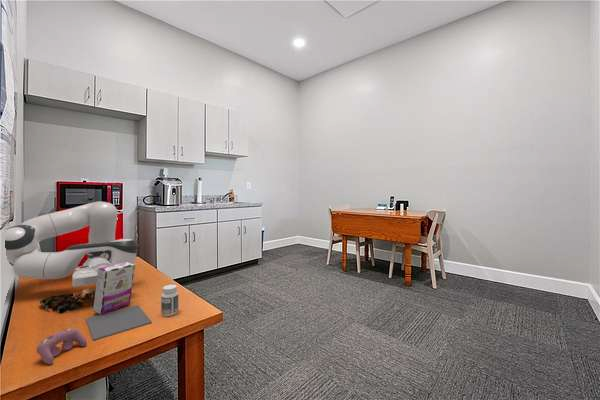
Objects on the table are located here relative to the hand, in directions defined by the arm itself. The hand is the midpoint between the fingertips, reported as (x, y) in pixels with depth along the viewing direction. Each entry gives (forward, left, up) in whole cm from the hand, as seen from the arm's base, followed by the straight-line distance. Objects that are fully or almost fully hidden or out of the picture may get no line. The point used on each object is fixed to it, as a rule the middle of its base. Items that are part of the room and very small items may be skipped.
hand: (108, 280), depth 101 cm
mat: (+14, +1, -11) cm, 18 cm away
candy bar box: (+2, +1, -10) cm, 10 cm away
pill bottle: (+20, +16, -11) cm, 28 cm away
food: (-16, -7, -11) cm, 21 cm away
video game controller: (+25, -14, -11) cm, 31 cm away
